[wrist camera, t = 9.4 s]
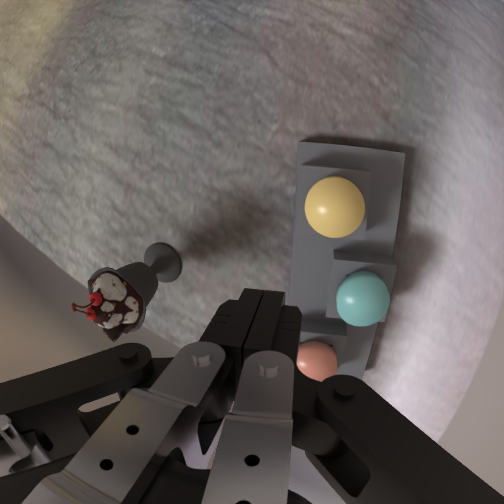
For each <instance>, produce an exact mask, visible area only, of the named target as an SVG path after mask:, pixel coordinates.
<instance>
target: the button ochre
mask: <svg viewBox="0 0 504 504" xmlns="http://www.w3.org/2000/svg"><path fill="white" fill-rule="evenodd" d="M305 214H306V218H307V220H308V222H309V224H310V225H311V227H312V228H313V229H314V230H315V231H317V232H318V233H320V234H321V235H324V236H326V237H331V238H340V237H344V236H347V235H349V234H351V233H352V232H354V231H355V230H356V229H357V228H358V227H359V226H360V224H361V222H362V220H363V218H364V214H365V202H364V199H363V196H362V194H361V192H360V191H359V189H358V188H357V187H356V186H355V185H354V184H353V183H352V182H351V181H349V180H348V179H346V178H343V177H340V176H328V177H324V178H322V179H320V180H318V181H317V182H316V183H315V184H313V186H312V187H311V188H310V190H309V192H308V194H307V197H306V201H305Z"/></svg>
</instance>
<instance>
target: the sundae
mask: <svg viewBox="0 0 504 504" xmlns="http://www.w3.org/2000/svg"><path fill="white" fill-rule="evenodd" d="M144 263H145V264H144ZM144 263H142V262H135V263H132V264H129V265H126V266H124V267H121V268H119V269H117V270H114V269H113V268H109V267H105V268H102V269H99V270H98V271H96V272H95V273H94V274H93V275H92V276H91V278H90V279H89V280H88V291H89V295H90V296H89V300H90V304H89V305H87V306H84V307H82V306H78V305H76V304H75V303H72V310H73V311H74V312H75V311H79V312H82V313H85V314H86V316H87V317H88V319H90V320H93V321H94V322H95V324H96V325H99V326H101V327H103V332H104V333H105V334H106V335H107V337H109V338H110V339H111V340H112V341H113V342H115V341H116V340H117V339H118V338H119V337H120V335H121V334H122V333H128V332H133V331H136V330H138V329H139V328H140V326H141V325H142V323H143V322H144V318H145V314H146V306H147V305H148V304H149V302H150V301H151V299H152V298H153V296H154V294H155V292H156V290H157V287H158V281H161V282H172V281H174V280H175V279H176V278H177V277H178V276H179V274H180V271H181V263H180V259H179V257H178V255H177V253H176V252H175V251H174V250H173V249H172V248H171V247H169V246H168V245H165V244H162V243H156V244H153V245H151V246H150V247H148V249H147V250H146V252H145V256H144ZM75 307H80V308H86V307H89V308H88V309H87V310H86V312H84V311H80V310H77V309H75Z"/></svg>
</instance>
